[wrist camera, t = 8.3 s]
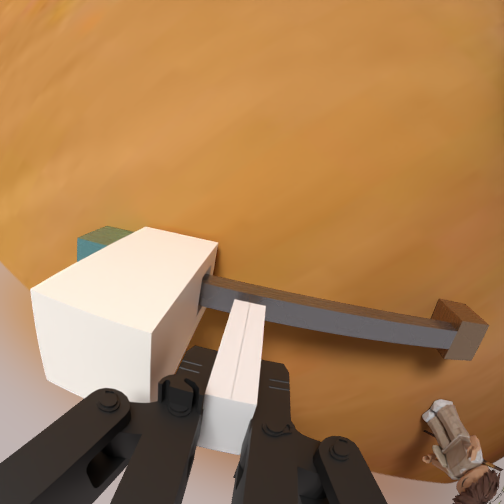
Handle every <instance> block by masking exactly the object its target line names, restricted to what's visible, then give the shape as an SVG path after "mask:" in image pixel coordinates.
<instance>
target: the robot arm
mask: <svg viewBox="0 0 504 504" xmlns="http://www.w3.org/2000/svg"><path fill="white" fill-rule="evenodd" d="M265 309H266V306H263V305H259V304H254V303H249V302H245V301H240V300H236V299H234V303H233V306H232V309H231V312H230V315H229V318H228V322H227V325H226V328H225V331H224V334H223V337H222V341H221V344H220V347H219V350H218V351H215V350H211V349H207V348H203V347H199V346H194V347H192V348H191V349H189V350H188V351H187V352H186V354H185V356H184V358H183V361H182V362H181V364H180V366H179V369H178V371H177V373H176V374H173V375H168V376H166V377H163V378H162V379H161V380H160V381H159V382H158V401H156V402H151V403H138V402H130V401H129V399H128V397H127V396H126V395H125V394H124V393H122V392H121V391H118V390H116V389H112V388H102V389H98V390H96V391H94V392H92V393H91V394H89V395H88V396H87V397H86V398H84V399H83V400H82V401H81V402H79V403H78V404H77V405H75V406H74V407H73V408H72V409H70V410H69V411H68V412H67V413H65V414H64V415H63V416H61V417H60V418H59V419H58V420H56V421H55V422H54V423H52V424H51V425H50V426H49V427H47V428H46V429H45V430H43V431H42V432H41V433H39V434H38V435H37V436H36V437H34V438H33V439H32V440H30V441H29V442H28V443H26V444H25V445H24V446H22V447H21V448H20V449H19V450H17V451H16V452H15V453H13V454H12V455H11V456H9V457H8V458H7V459H5V460H4V461H3V462H1V463H0V504H92V503H93V502H94V501H95V500H96V499H97V498H98V497H99V496H100V495H101V494H102V493H103V492H104V490H105V489H106V488H107V487H108V486H109V485H110V484H111V483H112V482H113V481H114V480H115V478H116V477H117V476H118V475H119V474H120V473H121V472H122V471H123V470H124V468H125V467H126V466H127V465H128V466H127V468H126V470H125V472H124V475H123V477H122V479H121V481H120V483H119V486H118V488H117V490H116V492H115V494H114V497H113V499H112V501H111V503H110V504H181V503H182V499H183V496H184V493H185V489H186V485H187V482H188V478H189V475H190V471H191V468H192V464H193V460H194V455H195V450H196V446H199V447H203V448H208V449H212V450H217V451H221V452H226V453H231V454H237V455H240V453H241V456H240V461H239V464H238V466H237V469H236V472H235V475H234V478H235V485H234V491H233V497H232V503H231V504H387V502H386V500H385V498H384V496H383V494H382V492H381V490H380V488H379V486H378V485H377V483H376V481H375V479H374V477H373V475H372V473H371V471H370V469H369V467H368V465H367V463H366V462H365V460H364V458H363V456H362V454H361V452H360V450H359V448H358V447H357V446H356V444H355V443H354V442H352V441H351V440H349V439H347V438H344V437H341V436H331V437H328V438H325V439H324V440H323V441H322V442H320V441H317V440H314V439H311V438H309V437H306V436H304V435H302V434H301V433H300V432H298V431H297V430H296V429H295V426H294V424H293V423H292V422H291V417H290V391H289V390H290V386H289V372H288V370H287V369H286V367H285V365H284V364H281V363H276V362H270V361H265V360H261V355H262V344H263V332H264V321H265Z"/></svg>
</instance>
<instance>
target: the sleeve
mask: <svg viewBox="0 0 504 504" xmlns="http://www.w3.org/2000/svg"><path fill="white" fill-rule="evenodd" d="M217 248H218V242H213V241H209V240H204V239H200V238H195V237H191V236H186V235H181V234H177V233H172V232H168V231H163V230H159V229H154V228H149V227H144V228H142V229H140V230H138V231H136V232H134V233H132V234H130V235H128V236H126V237H124V238H122V239H120V240H118V241H116V242H114V243H112V244H110V245H108V246H107V247H105V248H103V249H101V250H99V251H97V252H95V253H93V254H91V255H90V256H88V257H86V258H84V259H82V260H80V261H78V262H77V263H75V264H73V265H71V266H69V267H68V268H66V269H64V270H62V271H60V272H59V273H57V274H55V275H53V276H52V277H50V278H48V279H47V280H45V281H43V282H41V283H40V284H38V285H36V286H35V287H33V288H31V289H30V290H31V299H32V307H33V314H34V320H35V327H36V332H37V338H38V343H39V348H40V353H41V357H42V362H43V365H44V370H45V374H46V378H47V380H48V381H50V382H52V383H54V384H56V385H58V386H60V387H62V388H64V389H66V390H68V391H70V392H72V393H74V394H76V395H78V396H80V397H83V398H86V397H87V396H88V395H89V394H91V393H92V392H94V391H96V390H98V389H102V388H112V389H116V390H118V391H121V392H122V393H124V394H125V395H126V396H127V397H128V399H129V401H130V402H138V403H151V402H156V401H158V382H159V381H160V380H161V379H162V378H163V377H166V376H168V375H173V374H174V373H175V371H176V369H177V367H178V365H179V363H180V361H181V359H182V357H183V355H184V353H185V350H186V348H187V346H188V344H189V342H190V340H191V338H192V336H193V334H194V332H195V330H196V328H197V326H198V324H199V322H200V320H201V317H202V315H203V313H204V311H205V309H206V307H203V306H199V305H198V303H199V296H200V290H201V283H202V278H203V276H204V275H205V274H209V275H213V271H214V265H215V259H216V253H217Z"/></svg>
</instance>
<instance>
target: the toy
mask: <svg viewBox="0 0 504 504" xmlns="http://www.w3.org/2000/svg"><path fill="white" fill-rule="evenodd" d="M422 418H423V420H425V421H426V422H428V425H429V427H430V428H431V430H432V432H433V433H434V434H432V433H430V432H428V431H426V430H424V432H426V433H428V434H430V435H432V436H434V437H435V438H436V439H437V441H438V444H439V446H436V445H433V447H432V449H433V452H434V454H428V455H427V456H424V457H423V461H424V462H426V463H430V462H432V464H433V465H435V466H436V467H438V468H439V469H441V470H443V471H444V472H445V473H446V474H447V475H448V476H449V477H450V478H451V479H459V481H458V483H457V490H458V492H459V494H460V495H457V496H455V497H456V498H454V499H453V500H454V502H455V503H453V504H487V503H488V501H489V500H491V499H492V498H493V496H495V495H496V492H497V490H498V489H497V487H498V488H499V478H500V473H499V475H498V477H497V473H495V471H494V470H492V471H491V470H490V469H489V468H488V466H489V467H492V468H494V469H497V470H499V471H502V470H503V469H501V468H499V467H497V466H495V465H493V464H491V463H489V462H487V461H485V460H484V459H483V458H482V451H481V447H480V443H479V439H478V438H477V437H476V436H475V435H473V436H469V434H468V432H467V430H466V429H465V427H464V426H463V424H462V423H461V421H460V419H459V416H458V413H457V411H456V408H455V405H453V403H452V401H447V400H442V399H440V400H437V401H434V403H433V405H432V406H431V408H430V409H429V410H428V411H427V412H425V413H424V414H423V415H422ZM470 442H471V443H470ZM428 456H429V457H428ZM436 457H437V458H438V459H435V458H436ZM481 463H482V464H485V465H487V466H484V465H481ZM480 465H481V466H480ZM489 504H491V503H489ZM499 504H500V503H499Z"/></svg>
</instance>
